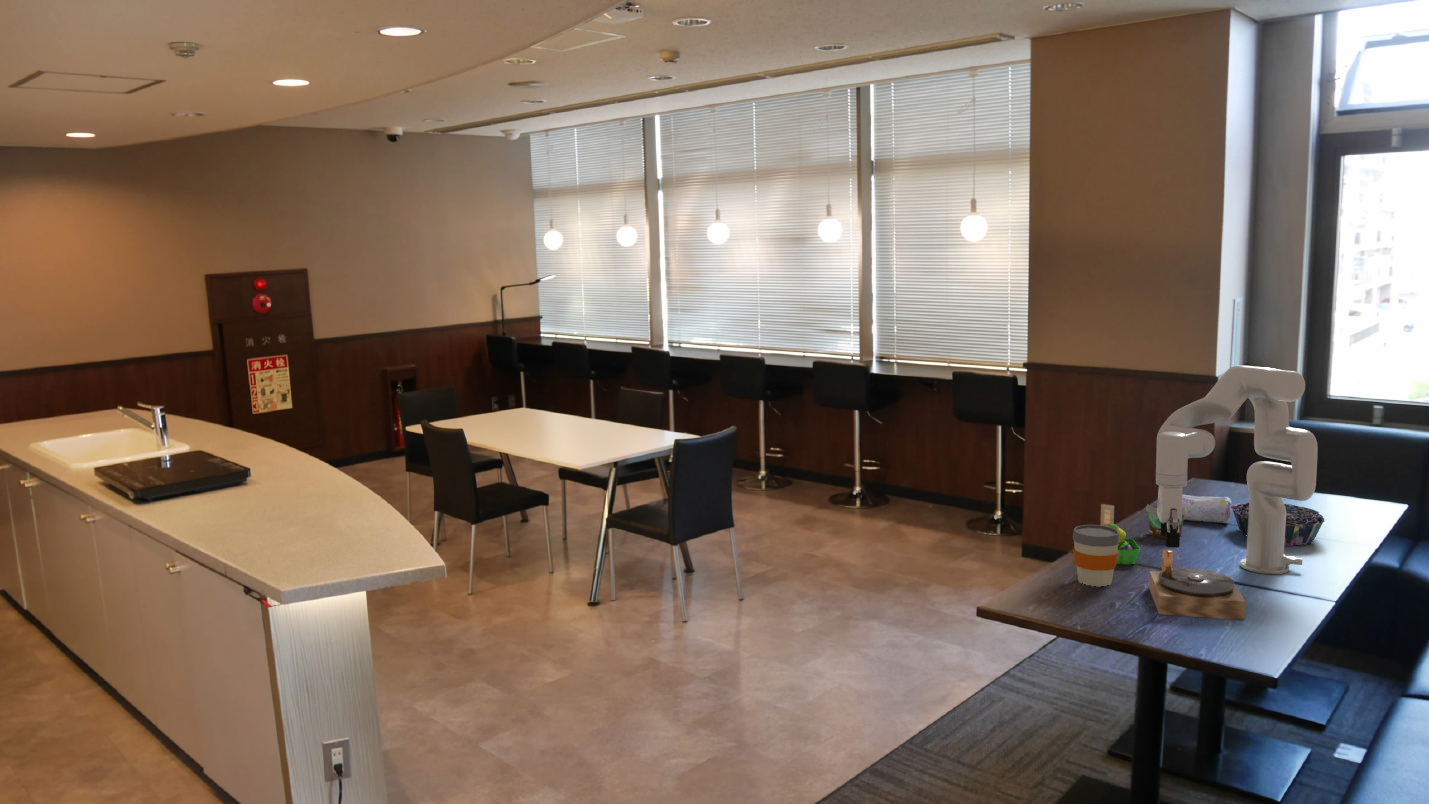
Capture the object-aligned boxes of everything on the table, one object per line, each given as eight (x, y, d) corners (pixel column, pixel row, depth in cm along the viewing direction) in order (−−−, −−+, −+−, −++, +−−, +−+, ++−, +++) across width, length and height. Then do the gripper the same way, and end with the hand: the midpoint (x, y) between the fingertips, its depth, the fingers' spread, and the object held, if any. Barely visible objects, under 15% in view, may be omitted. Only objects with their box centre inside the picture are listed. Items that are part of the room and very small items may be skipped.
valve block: (1228, 593, 270) (1229, 575, 269) (1244, 620, 251) (1245, 601, 250) (1149, 588, 276) (1149, 571, 275) (1158, 614, 257) (1159, 595, 256)
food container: (1145, 538, 321) (1146, 508, 320) (1144, 533, 327) (1145, 503, 325) (1187, 541, 316) (1188, 511, 315) (1185, 536, 322) (1187, 506, 321)
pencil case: (1161, 519, 342) (1162, 492, 341) (1166, 513, 349) (1167, 487, 348) (1228, 527, 330) (1230, 500, 329) (1232, 521, 337) (1234, 494, 336)
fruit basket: (1140, 566, 294) (1141, 529, 293) (1108, 565, 296) (1110, 528, 294) (1132, 554, 305) (1133, 519, 304) (1102, 553, 307) (1103, 518, 305)
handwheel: (1156, 570, 274) (1157, 540, 273) (1229, 576, 268) (1230, 546, 266) (1160, 592, 257) (1161, 560, 256) (1237, 599, 251) (1239, 566, 250)
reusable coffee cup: (1113, 591, 274) (1115, 539, 272) (1066, 584, 281) (1068, 533, 278) (1122, 578, 285) (1123, 527, 282) (1076, 571, 291) (1078, 522, 289)
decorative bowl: (1300, 531, 330) (1300, 501, 330) (1342, 549, 303) (1343, 517, 302) (1219, 530, 333) (1220, 501, 333) (1254, 549, 306) (1255, 517, 305)
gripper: (1151, 470, 269) (1150, 531, 272) (1160, 487, 253) (1158, 551, 256) (1181, 471, 267) (1180, 532, 270) (1192, 487, 251) (1190, 552, 254)
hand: (1169, 541), depth 263 cm, fingers open, 9 cm apart
